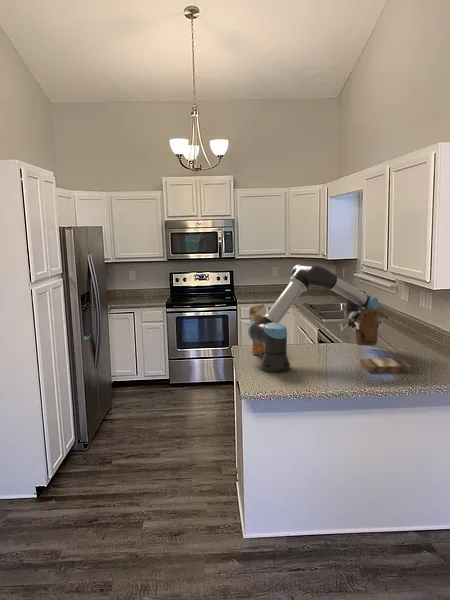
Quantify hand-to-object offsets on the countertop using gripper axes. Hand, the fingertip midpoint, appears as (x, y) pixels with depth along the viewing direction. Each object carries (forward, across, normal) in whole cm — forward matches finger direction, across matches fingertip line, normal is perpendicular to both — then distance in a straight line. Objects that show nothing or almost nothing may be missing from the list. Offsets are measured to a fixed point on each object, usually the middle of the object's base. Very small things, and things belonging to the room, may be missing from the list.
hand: (369, 326), depth 256 cm
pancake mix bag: (-25, +57, -20) cm, 65 cm away
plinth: (+12, -5, -20) cm, 24 cm away
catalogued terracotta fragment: (-4, 0, -11) cm, 12 cm away
